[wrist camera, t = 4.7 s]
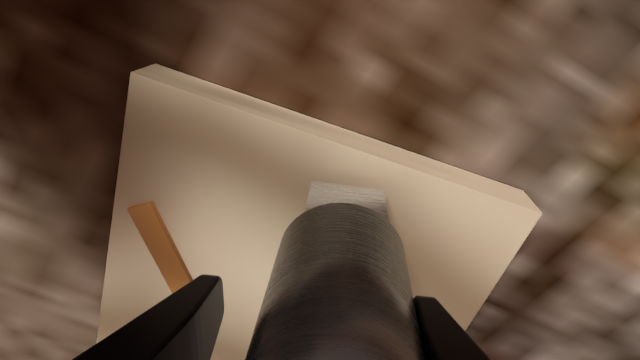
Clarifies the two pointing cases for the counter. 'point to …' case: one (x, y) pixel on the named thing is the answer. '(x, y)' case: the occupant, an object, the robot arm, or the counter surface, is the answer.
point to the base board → (280, 204)
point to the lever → (339, 284)
